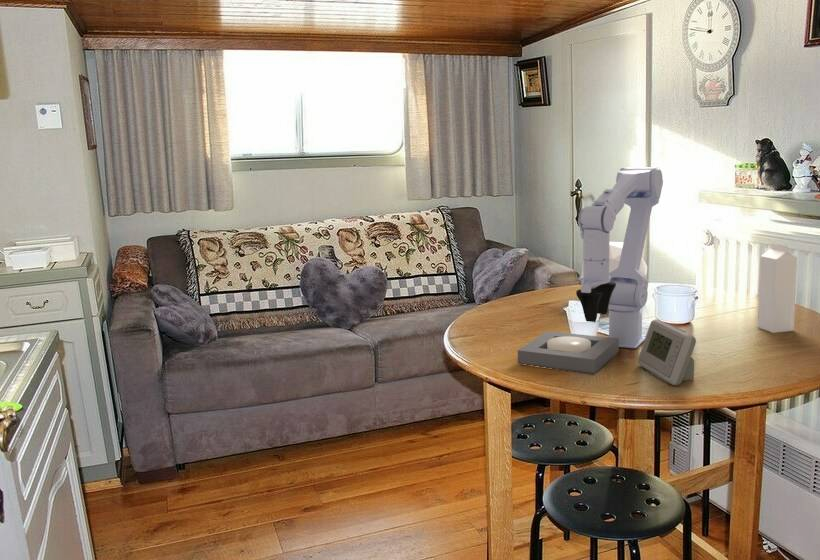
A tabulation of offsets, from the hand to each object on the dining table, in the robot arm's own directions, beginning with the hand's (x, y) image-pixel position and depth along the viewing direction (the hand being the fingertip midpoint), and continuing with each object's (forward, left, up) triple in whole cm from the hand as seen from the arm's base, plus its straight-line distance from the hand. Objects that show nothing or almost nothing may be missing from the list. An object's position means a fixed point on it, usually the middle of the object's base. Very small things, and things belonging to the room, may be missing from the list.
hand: (596, 317), depth 166 cm
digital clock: (+5, +16, -10) cm, 20 cm away
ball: (-57, -13, -10) cm, 60 cm away
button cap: (+2, -6, -9) cm, 11 cm away
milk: (-42, +33, -10) cm, 55 cm away
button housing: (+2, -6, -10) cm, 12 cm away
